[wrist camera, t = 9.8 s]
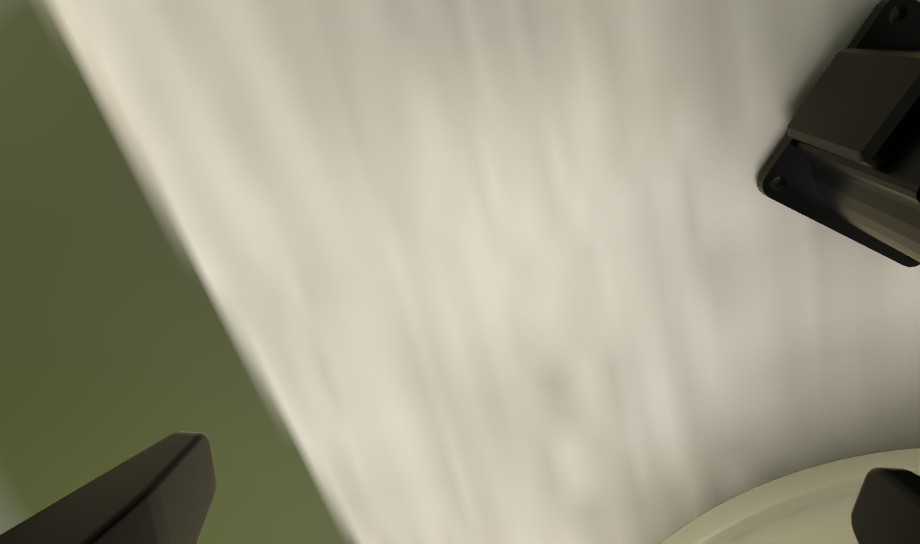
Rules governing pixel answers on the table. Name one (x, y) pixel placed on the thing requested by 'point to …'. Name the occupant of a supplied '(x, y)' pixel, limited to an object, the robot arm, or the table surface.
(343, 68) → the table surface
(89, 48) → the table surface
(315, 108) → the table surface
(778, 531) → the white short wide cylinder
